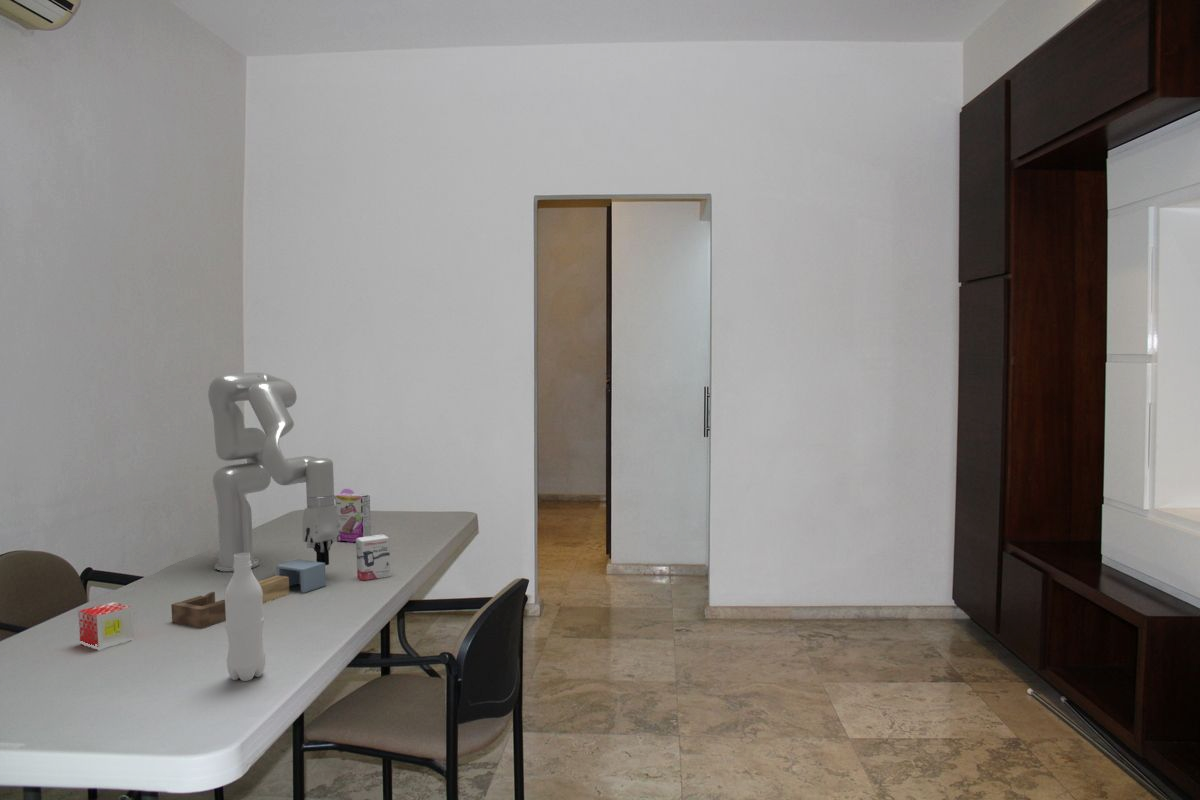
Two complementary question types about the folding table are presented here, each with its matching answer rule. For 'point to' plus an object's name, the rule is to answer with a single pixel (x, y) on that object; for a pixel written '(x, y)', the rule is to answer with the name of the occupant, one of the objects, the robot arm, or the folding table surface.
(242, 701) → the folding table surface
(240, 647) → the water bottle
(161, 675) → the folding table surface
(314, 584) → the blue end cap
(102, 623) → the red and white box
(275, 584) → the oak slat
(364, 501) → the candy bar box
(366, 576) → the ink box
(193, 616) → the walnut end cap
